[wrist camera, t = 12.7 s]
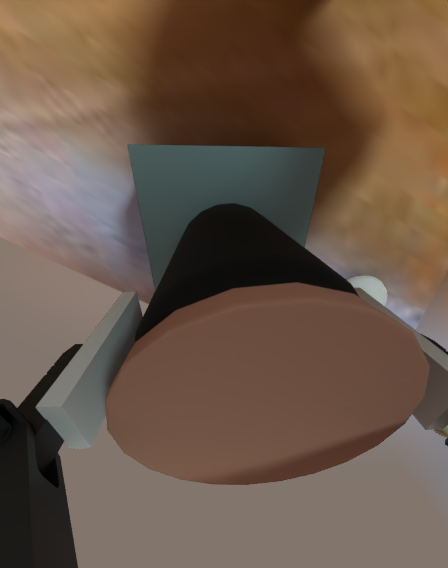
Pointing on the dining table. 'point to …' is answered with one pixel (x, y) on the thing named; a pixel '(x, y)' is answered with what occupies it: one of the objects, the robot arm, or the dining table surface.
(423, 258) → the dining table surface
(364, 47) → the dining table surface
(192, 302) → the coffee jar
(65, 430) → the robot arm
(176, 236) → the green riser stand
